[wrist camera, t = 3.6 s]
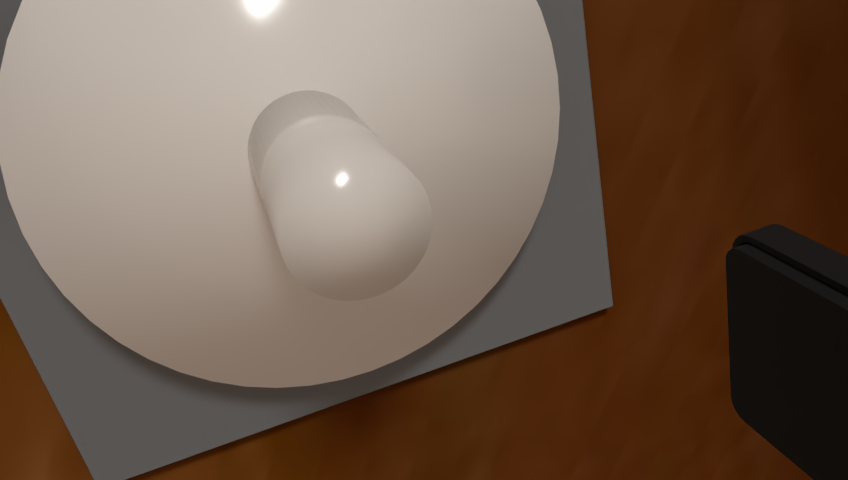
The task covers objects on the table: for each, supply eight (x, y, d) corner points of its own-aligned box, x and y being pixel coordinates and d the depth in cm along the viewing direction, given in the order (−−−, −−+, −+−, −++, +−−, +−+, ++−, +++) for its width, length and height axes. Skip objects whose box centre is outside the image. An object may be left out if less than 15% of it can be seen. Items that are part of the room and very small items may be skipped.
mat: (545, -289, 20) (552, -292, 20) (607, 300, 28) (613, 305, 28) (-220, -143, 17) (-227, -144, 16) (99, 480, 25) (98, 488, 24)
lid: (504, -215, 20) (657, -269, 14) (571, 281, 27) (695, 393, 21) (-116, -81, 17) (-268, -73, 11) (131, 436, 24) (122, 621, 18)
